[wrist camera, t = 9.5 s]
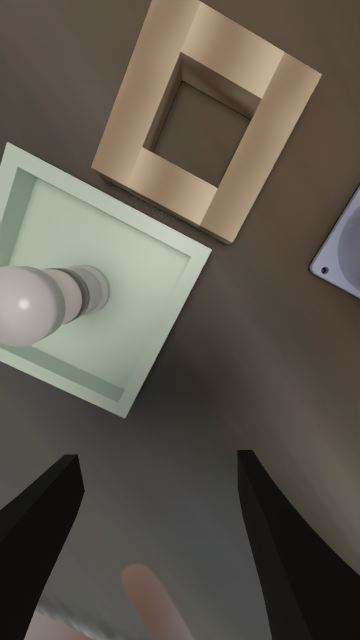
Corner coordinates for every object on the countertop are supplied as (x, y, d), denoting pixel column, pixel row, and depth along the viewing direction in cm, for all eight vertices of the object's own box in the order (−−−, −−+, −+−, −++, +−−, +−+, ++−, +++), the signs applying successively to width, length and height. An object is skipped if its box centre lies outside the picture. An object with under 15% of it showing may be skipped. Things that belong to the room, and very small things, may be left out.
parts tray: (209, 251, 18) (211, 249, 16) (132, 400, 21) (124, 418, 19) (33, 158, 17) (7, 142, 15) (-20, 329, 20) (-49, 338, 18)
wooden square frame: (304, 100, 16) (322, 74, 14) (227, 245, 18) (232, 242, 16) (164, 17, 15) (160, -23, 13) (103, 179, 17) (91, 167, 15)
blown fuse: (116, 275, 18) (60, 285, 10) (102, 319, 19) (41, 358, 11) (70, 257, 18) (-21, 253, 10) (58, 302, 19) (-35, 330, 11)
